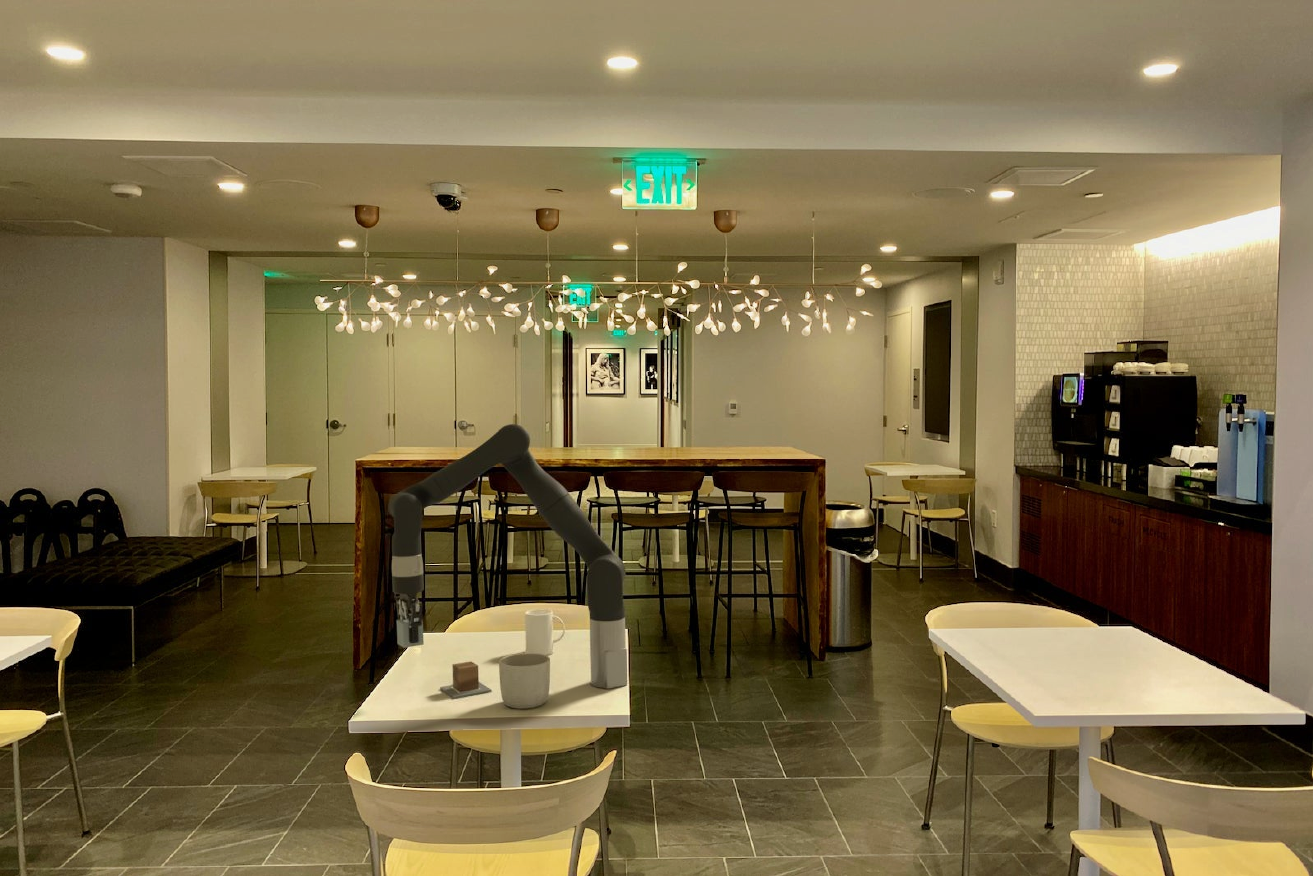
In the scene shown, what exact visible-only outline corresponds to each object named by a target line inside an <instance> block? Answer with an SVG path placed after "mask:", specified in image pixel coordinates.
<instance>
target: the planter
mask: <svg viewBox="0 0 1313 876" xmlns="http://www.w3.org/2000/svg"><path fill="white" fill-rule="evenodd" d="M498 669H499V670H498V672H499V673H498V674H499V686H500V687H499V689H500V695H501V699H502V702H503V703H504V704H505V705H506V706H507V707H510V708H511V709H512V708H513V709H519V710H522V709H523V710H524V709H525V710H526V709H533V708H537V707H539V706H542V705H543V704H545V703H546V702H547V700H548V698H549V695H550V687H551V686H550V684H551V683H550V682H551V681H550V680H551V658H550V656H549V655H543V654H537V653H525V652H522V653H515V654H509V655H507V656H504V657H502V658H500V659H499V660H498Z"/></svg>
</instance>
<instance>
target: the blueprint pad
mask: <svg viewBox="0 0 1313 876" xmlns="http://www.w3.org/2000/svg"><path fill="white" fill-rule="evenodd" d="M439 688H440V690H441V691H442V692H444V693H446V694H447V695H448V696H449V697H450V698H452V699H461V698H465V697H472V696H475V695H477V696H478V695H481V694H487V693H492V691H493V690H492V689H491V688H489V687H488V686H486V685H485V684H483V683H481V682H480V681H479V689H475V690H470V691H464V692H459V691H457V690H456V689H455V688H453V684H451V685H450V684H449V685H444V686H440V687H439Z"/></svg>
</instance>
